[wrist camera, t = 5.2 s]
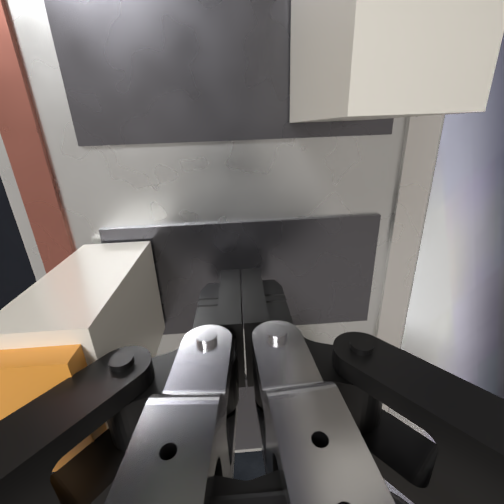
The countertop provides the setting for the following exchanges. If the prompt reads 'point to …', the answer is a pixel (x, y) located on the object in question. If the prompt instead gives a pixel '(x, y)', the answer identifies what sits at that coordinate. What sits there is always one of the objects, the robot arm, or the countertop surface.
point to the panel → (207, 163)
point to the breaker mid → (78, 322)
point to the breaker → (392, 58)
